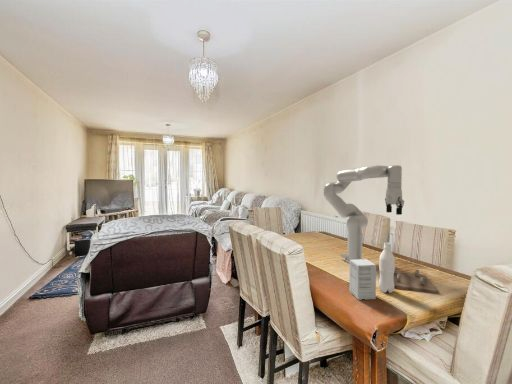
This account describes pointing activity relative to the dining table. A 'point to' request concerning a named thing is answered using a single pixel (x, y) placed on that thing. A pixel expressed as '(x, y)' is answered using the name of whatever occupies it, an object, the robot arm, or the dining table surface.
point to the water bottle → (386, 269)
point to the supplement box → (362, 279)
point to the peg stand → (413, 282)
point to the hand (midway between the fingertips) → (393, 213)
